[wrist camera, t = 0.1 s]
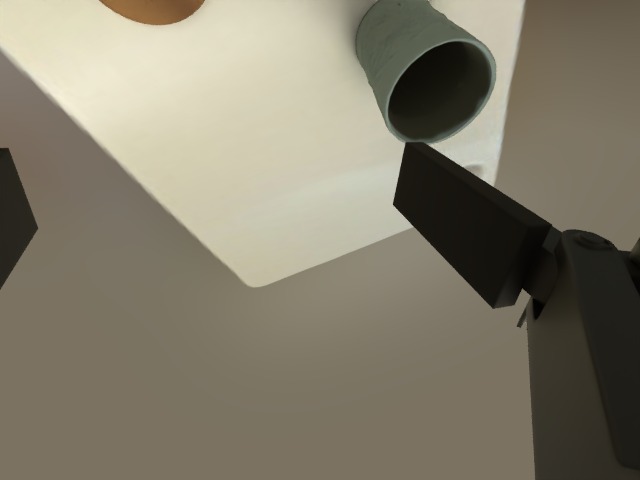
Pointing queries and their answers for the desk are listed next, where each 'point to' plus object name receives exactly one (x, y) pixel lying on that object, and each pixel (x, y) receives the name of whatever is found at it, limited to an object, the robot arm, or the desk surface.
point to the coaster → (154, 10)
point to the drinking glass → (423, 70)
